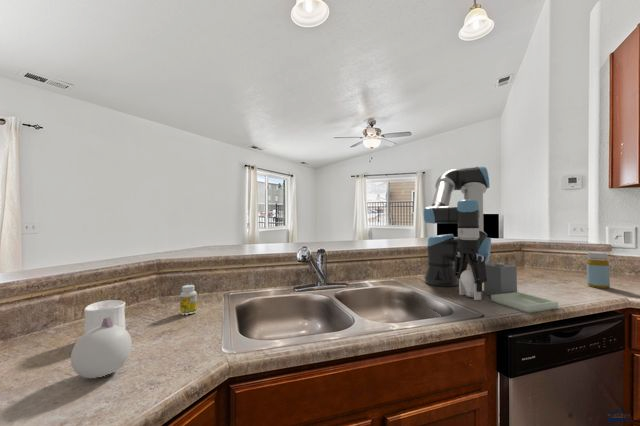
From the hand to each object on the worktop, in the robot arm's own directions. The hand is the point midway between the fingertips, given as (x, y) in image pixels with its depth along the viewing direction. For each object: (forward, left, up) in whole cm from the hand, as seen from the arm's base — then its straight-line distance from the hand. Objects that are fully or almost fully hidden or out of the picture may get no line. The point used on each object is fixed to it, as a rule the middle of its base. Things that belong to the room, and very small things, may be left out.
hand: (470, 297), depth 112 cm
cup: (-1, -124, -1) cm, 124 cm away
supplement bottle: (-17, -105, -1) cm, 106 cm away
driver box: (+1, +14, 0) cm, 14 cm away
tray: (+13, +11, 0) cm, 17 cm away
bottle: (+5, +64, -1) cm, 64 cm away
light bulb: (0, 0, -1) cm, 1 cm away
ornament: (+20, -116, -1) cm, 118 cm away
